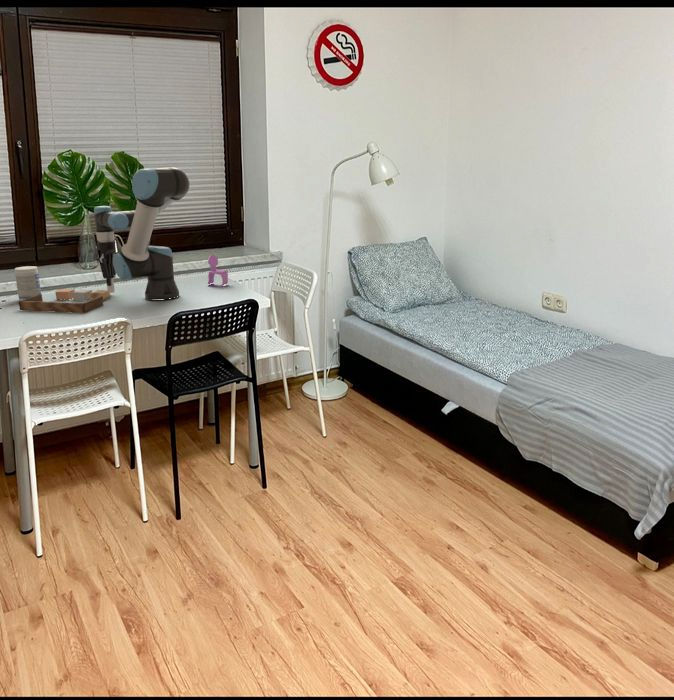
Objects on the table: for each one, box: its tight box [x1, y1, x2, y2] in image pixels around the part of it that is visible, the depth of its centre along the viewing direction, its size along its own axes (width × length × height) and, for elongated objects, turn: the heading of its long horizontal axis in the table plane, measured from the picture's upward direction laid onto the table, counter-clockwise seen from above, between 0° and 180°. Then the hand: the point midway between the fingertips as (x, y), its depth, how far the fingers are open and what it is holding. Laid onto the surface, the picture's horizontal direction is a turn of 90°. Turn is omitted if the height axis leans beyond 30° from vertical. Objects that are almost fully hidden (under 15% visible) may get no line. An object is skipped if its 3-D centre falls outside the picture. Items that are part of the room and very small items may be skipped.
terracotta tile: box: [55, 288, 76, 301], centre depth 313 cm, size 6×6×4 cm
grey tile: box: [72, 289, 93, 301], centre depth 312 cm, size 6×6×4 cm
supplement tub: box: [14, 265, 42, 301], centre depth 309 cm, size 10×10×15 cm
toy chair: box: [207, 254, 229, 286], centre depth 337 cm, size 8×9×15 cm
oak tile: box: [90, 289, 111, 302], centre depth 310 cm, size 6×6×4 cm
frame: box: [18, 293, 104, 314], centre depth 295 cm, size 30×15×4 cm, turn 80°
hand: (111, 292), depth 320 cm, fingers closed
